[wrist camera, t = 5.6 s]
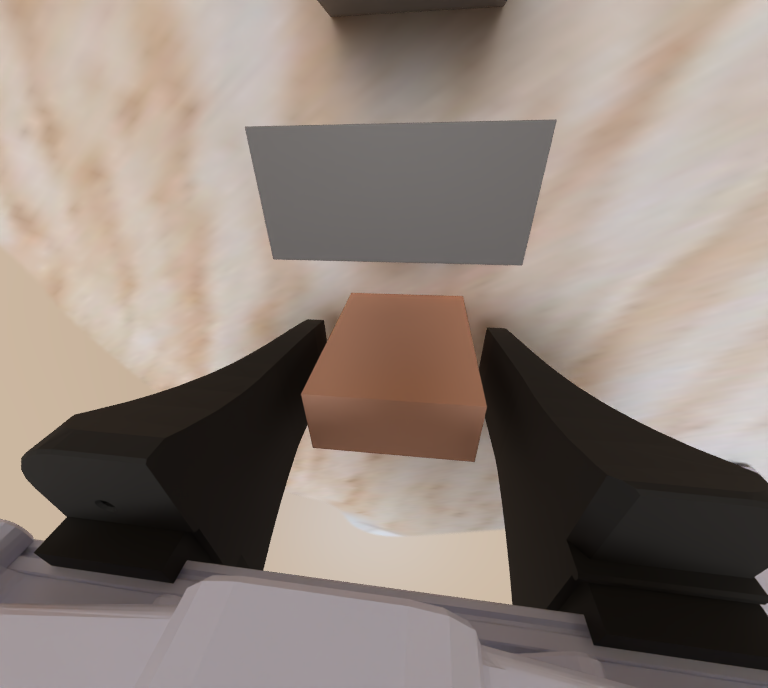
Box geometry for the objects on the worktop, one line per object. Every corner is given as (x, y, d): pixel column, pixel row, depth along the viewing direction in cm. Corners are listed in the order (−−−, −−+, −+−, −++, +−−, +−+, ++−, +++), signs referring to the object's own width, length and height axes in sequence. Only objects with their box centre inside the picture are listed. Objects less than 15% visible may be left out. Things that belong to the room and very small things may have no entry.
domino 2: (457, 339, 13) (474, 462, 8) (354, 335, 14) (313, 447, 9) (462, 296, 12) (487, 406, 7) (351, 292, 13) (301, 394, 8)
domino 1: (476, 202, 10) (522, 265, 5) (345, 202, 11) (273, 259, 6) (486, 128, 9) (556, 119, 4) (339, 131, 10) (245, 127, 5)
